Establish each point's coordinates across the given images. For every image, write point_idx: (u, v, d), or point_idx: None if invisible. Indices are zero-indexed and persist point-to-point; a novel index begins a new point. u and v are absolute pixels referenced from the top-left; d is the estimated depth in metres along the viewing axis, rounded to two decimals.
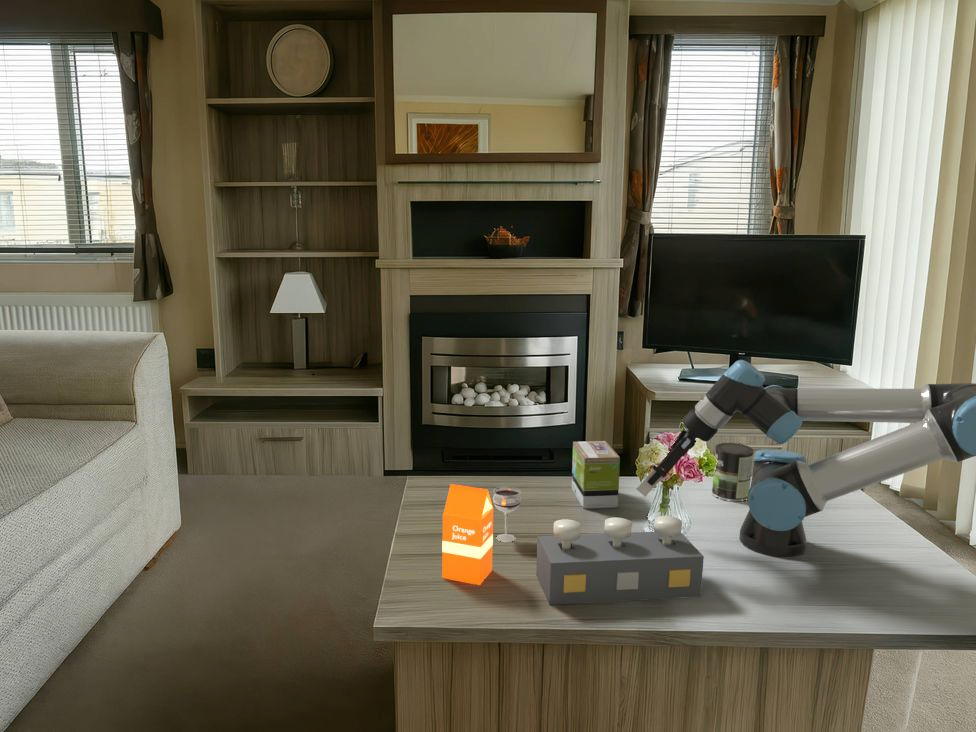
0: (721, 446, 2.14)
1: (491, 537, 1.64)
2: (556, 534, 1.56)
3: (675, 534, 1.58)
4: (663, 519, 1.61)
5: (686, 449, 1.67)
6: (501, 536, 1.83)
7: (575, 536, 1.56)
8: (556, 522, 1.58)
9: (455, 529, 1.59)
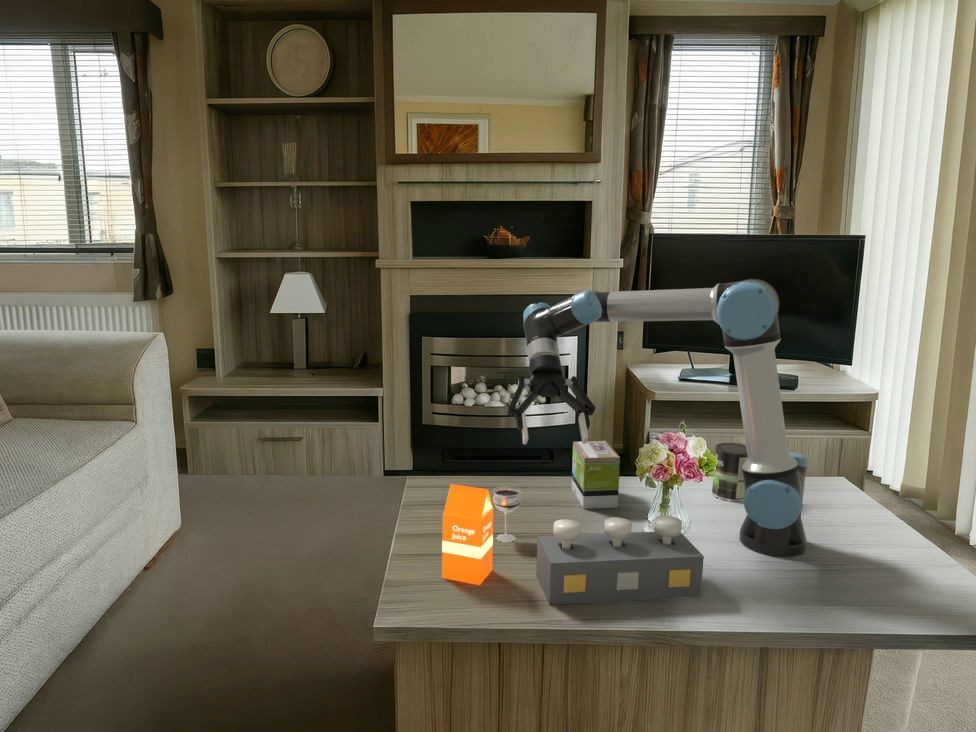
0: (721, 446, 2.14)
1: (491, 537, 1.64)
2: (556, 534, 1.56)
3: (675, 534, 1.58)
4: (663, 519, 1.61)
5: (519, 382, 1.75)
6: (501, 536, 1.83)
7: (575, 536, 1.56)
8: (556, 522, 1.58)
9: (455, 529, 1.59)
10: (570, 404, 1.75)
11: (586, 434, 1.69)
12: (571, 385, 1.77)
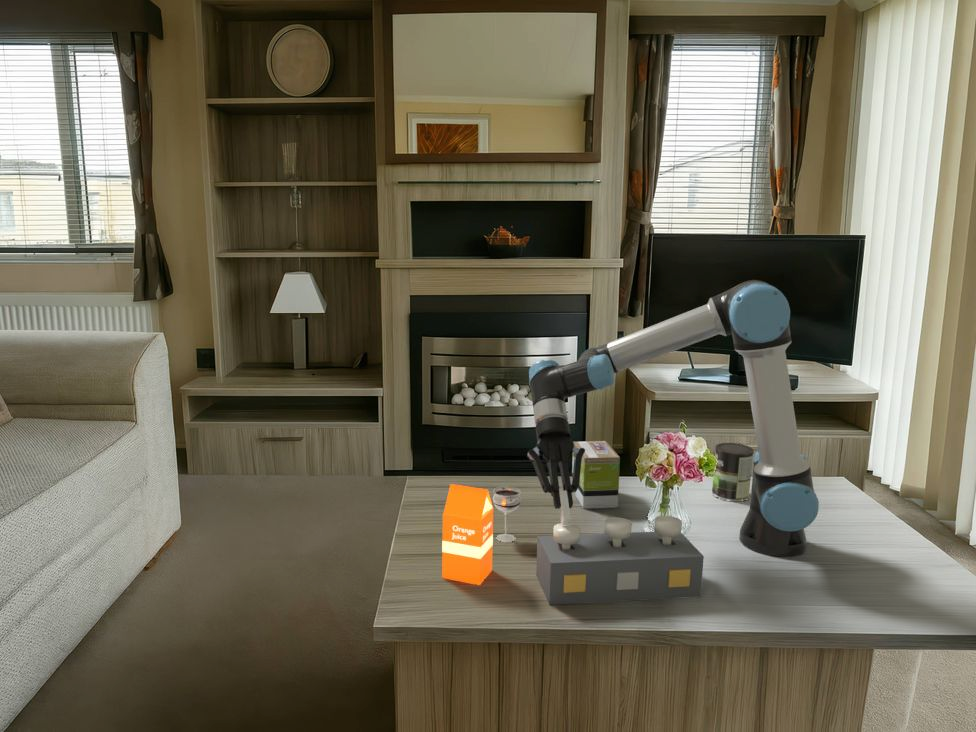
0: (721, 446, 2.14)
1: (491, 537, 1.64)
2: (556, 537, 1.56)
3: (675, 534, 1.58)
4: (663, 519, 1.61)
5: (532, 456, 1.64)
6: (501, 536, 1.83)
7: (575, 540, 1.56)
8: (556, 526, 1.59)
9: (455, 529, 1.59)
10: (561, 475, 1.64)
11: (569, 515, 1.57)
12: (575, 454, 1.66)
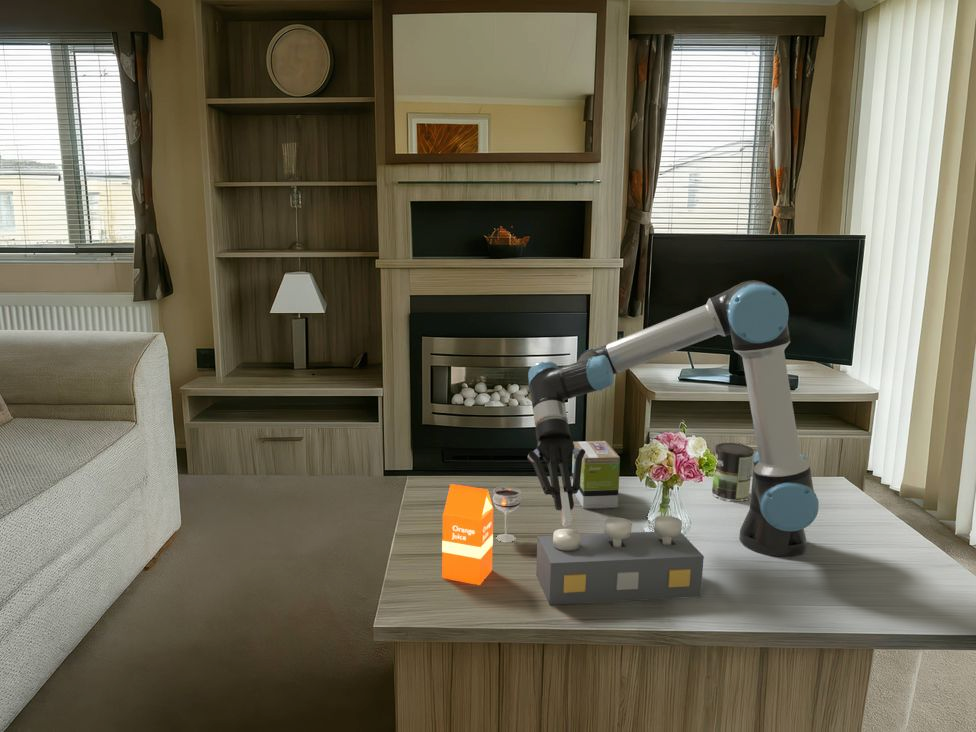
0: (721, 446, 2.14)
1: (491, 537, 1.64)
2: (556, 543, 1.57)
3: (675, 534, 1.58)
4: (663, 519, 1.61)
5: (532, 458, 1.64)
6: (501, 536, 1.83)
7: (575, 546, 1.56)
8: (556, 531, 1.59)
9: (455, 529, 1.59)
10: (562, 476, 1.64)
11: (570, 517, 1.57)
12: (575, 456, 1.67)
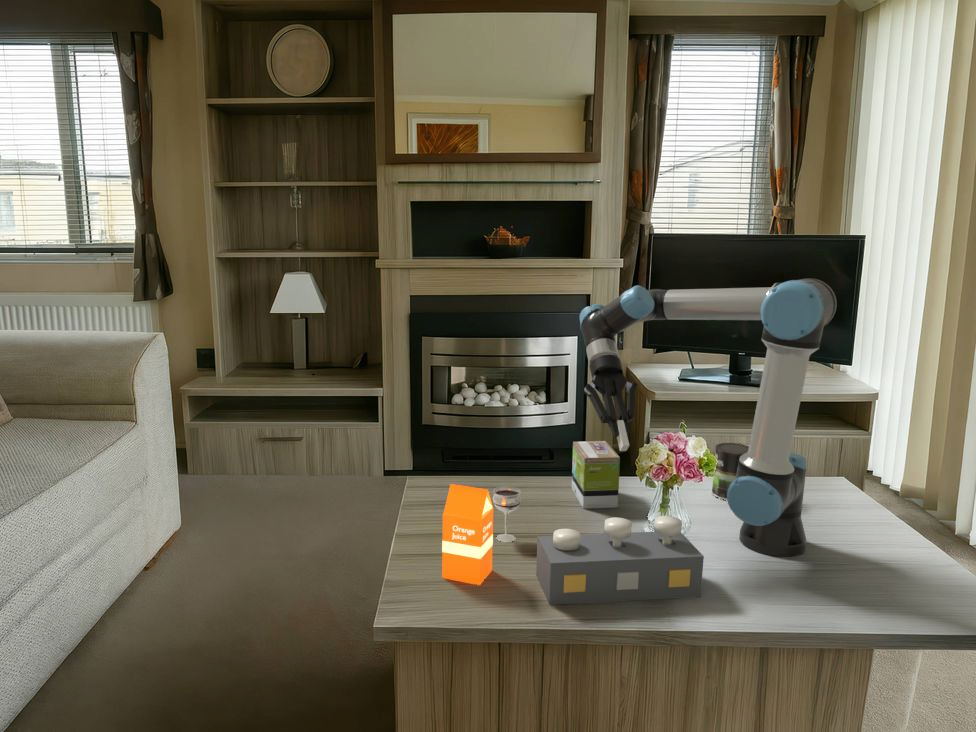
0: (721, 446, 2.14)
1: (491, 537, 1.64)
2: (556, 543, 1.57)
3: (675, 534, 1.58)
4: (663, 519, 1.61)
5: (589, 391, 1.77)
6: (501, 536, 1.83)
7: (575, 546, 1.56)
8: (556, 531, 1.59)
9: (455, 529, 1.59)
10: (617, 407, 1.77)
11: (627, 441, 1.70)
12: (628, 389, 1.79)
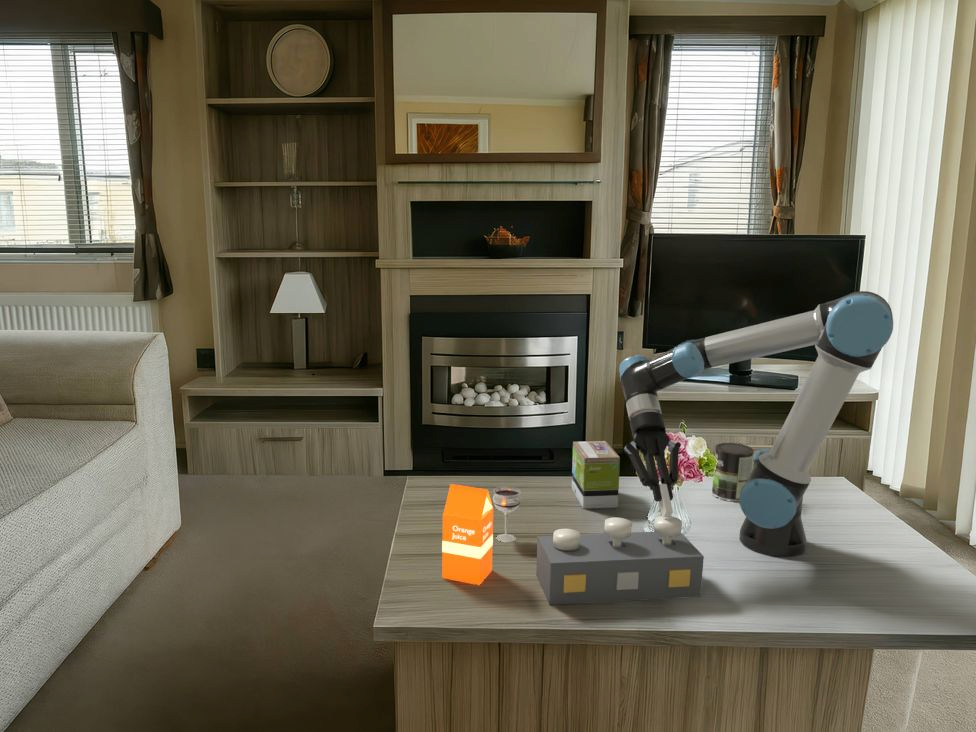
0: (721, 446, 2.14)
1: (491, 537, 1.64)
2: (556, 543, 1.57)
3: (675, 534, 1.58)
4: (663, 519, 1.61)
5: (630, 451, 1.67)
6: (501, 536, 1.83)
7: (575, 546, 1.56)
8: (556, 531, 1.59)
9: (455, 529, 1.59)
10: (659, 468, 1.67)
11: (670, 508, 1.60)
12: (671, 448, 1.69)
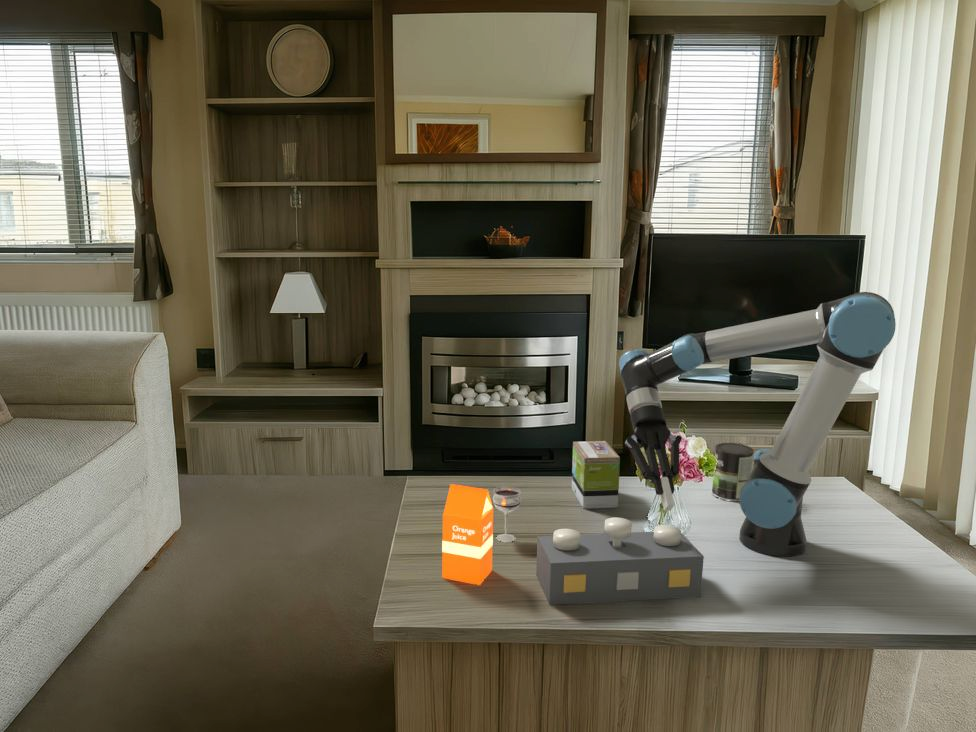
0: (721, 446, 2.14)
1: (491, 537, 1.64)
2: (556, 543, 1.57)
3: (674, 543, 1.59)
4: (663, 529, 1.61)
5: (631, 444, 1.67)
6: (501, 536, 1.83)
7: (575, 546, 1.56)
8: (556, 531, 1.59)
9: (455, 529, 1.59)
10: (660, 462, 1.67)
11: (672, 501, 1.60)
12: (672, 442, 1.69)
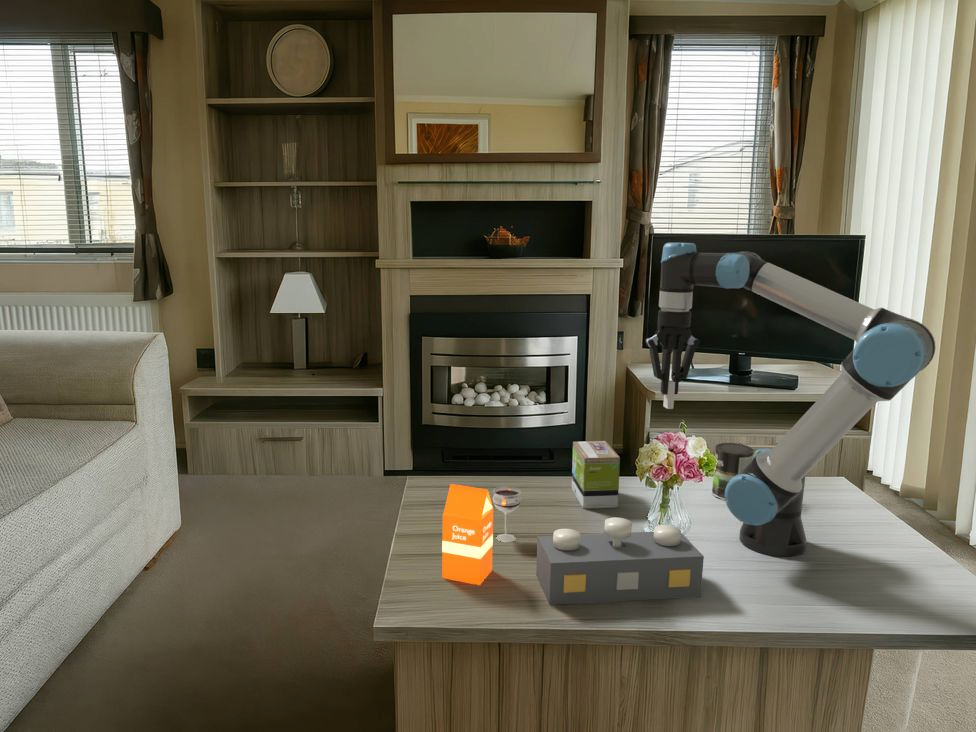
0: (721, 446, 2.14)
1: (491, 537, 1.64)
2: (556, 543, 1.57)
3: (674, 543, 1.59)
4: (663, 529, 1.61)
5: (651, 347, 1.77)
6: (501, 536, 1.83)
7: (575, 546, 1.56)
8: (556, 531, 1.59)
9: (455, 529, 1.59)
10: (673, 362, 1.80)
11: (672, 405, 1.80)
12: (690, 344, 1.79)
